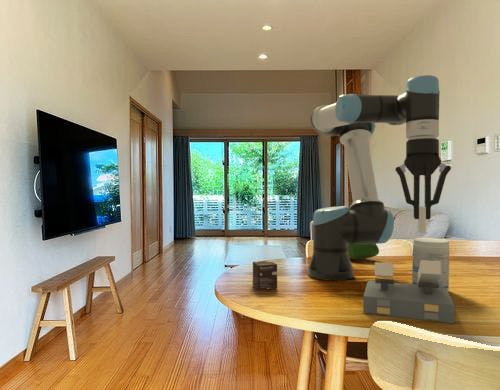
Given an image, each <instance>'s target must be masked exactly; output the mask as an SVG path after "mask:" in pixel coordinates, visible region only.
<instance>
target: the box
mask: <svg viewBox="0 0 500 390" xmlns="http://www.w3.org/2000/svg"><path fill="white" fill-rule="evenodd" d="M253 285H254V286H255V287H254V286H253ZM252 286H253V287H254V288H256V290H258V289H266V290H268V289H267V288H277V289H278V264H277V263H275V262H273V261H272V260H267V261H265V260H263V261H261V260H260V261H252Z"/></svg>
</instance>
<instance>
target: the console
mask: <svg viewBox="0 0 500 390" xmlns="http://www.w3.org/2000/svg"><path fill="white" fill-rule="evenodd" d="M362 306H363V308H362V309H363V311H362V313H363V314H370V315H378V316H380V315H381V316H387V317H396V318H404V319H405V318H406V319H414V320H423V321H432V322H439V323H448V324H455V304H454V302H453V300H452V298H451V296H450V293H449V291H448V292H447V290H446V288H445V287H439V283H427V282H418V285H415V284H412V283H400V282H395V280H394V279H387V278H379V277H378V278H377V277H376V278H375V279H374V280H367V283H366V285H365V290H364V292H363V299H362Z"/></svg>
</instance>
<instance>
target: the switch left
mask: <svg viewBox="0 0 500 390" xmlns="http://www.w3.org/2000/svg"><path fill="white" fill-rule="evenodd" d="M374 276H376V278H377V277H378V278H379V277H380V278H391V279H393V278H394V263H393V262H377V261H375V262H374Z"/></svg>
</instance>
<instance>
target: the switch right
mask: <svg viewBox="0 0 500 390" xmlns="http://www.w3.org/2000/svg"><path fill="white" fill-rule="evenodd" d="M440 275H441V263H440V261H427V260H421V262H420V266H419V270H418V282H427V283H437V281H438V279H439V277H440Z"/></svg>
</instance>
